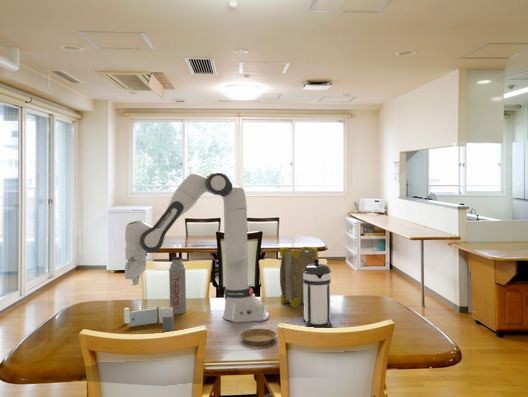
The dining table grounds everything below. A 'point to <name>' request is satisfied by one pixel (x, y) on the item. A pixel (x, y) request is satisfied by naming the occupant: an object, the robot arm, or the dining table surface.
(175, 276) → the thermos bottle
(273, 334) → the plant saucer
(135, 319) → the door
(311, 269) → the coffee press
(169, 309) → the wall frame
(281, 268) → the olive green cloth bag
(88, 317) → the dining table surface
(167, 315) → the block
